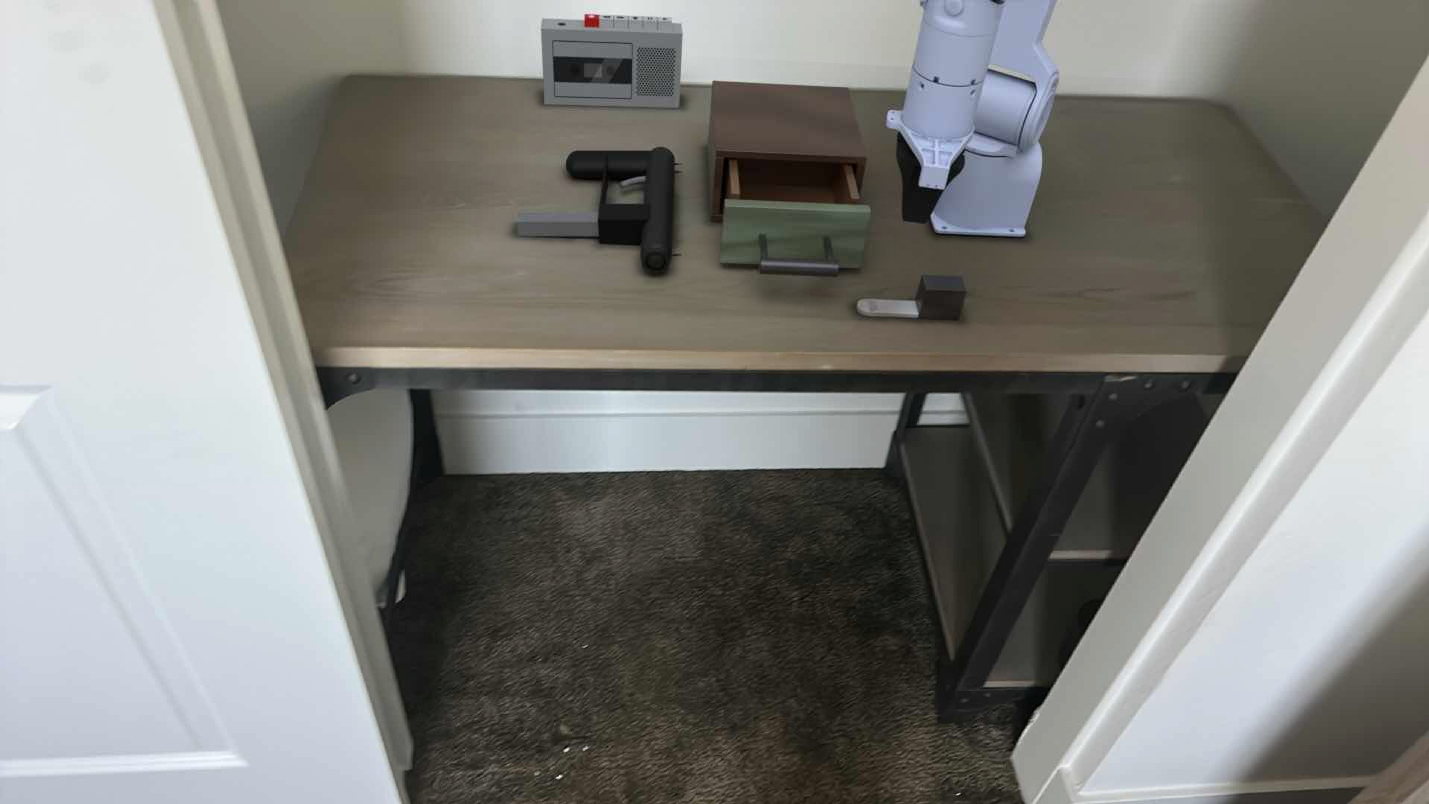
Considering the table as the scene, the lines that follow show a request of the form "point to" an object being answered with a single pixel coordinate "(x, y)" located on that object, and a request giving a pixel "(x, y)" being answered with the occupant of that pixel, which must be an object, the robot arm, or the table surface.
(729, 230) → the drawer
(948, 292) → the grey sheathed bar
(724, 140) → the cabinet
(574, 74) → the cassette player
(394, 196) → the table surface
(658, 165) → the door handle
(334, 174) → the table surface
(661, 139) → the table surface
